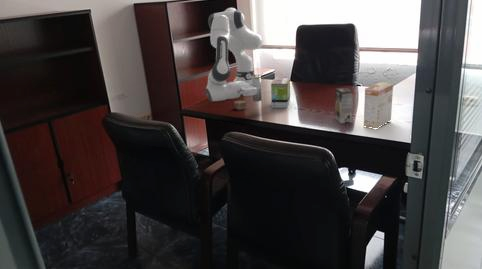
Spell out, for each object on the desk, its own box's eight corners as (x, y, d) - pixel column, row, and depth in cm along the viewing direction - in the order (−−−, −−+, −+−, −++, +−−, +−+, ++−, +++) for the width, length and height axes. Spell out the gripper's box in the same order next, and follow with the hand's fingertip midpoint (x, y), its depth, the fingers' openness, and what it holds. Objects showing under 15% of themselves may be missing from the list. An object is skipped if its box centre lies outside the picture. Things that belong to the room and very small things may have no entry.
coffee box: (334, 118, 211) (335, 88, 206) (346, 117, 212) (347, 87, 206) (340, 123, 203) (340, 92, 197) (352, 122, 203) (353, 91, 197)
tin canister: (251, 99, 230) (249, 75, 225) (259, 98, 232) (258, 74, 227) (254, 102, 226) (253, 77, 221) (263, 100, 227) (262, 76, 222)
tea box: (288, 108, 234) (287, 83, 229) (271, 108, 236) (270, 83, 231) (290, 101, 247) (290, 77, 242) (274, 101, 250) (273, 77, 244)
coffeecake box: (378, 119, 205) (380, 81, 198) (391, 121, 200) (394, 83, 193) (362, 127, 196) (364, 88, 189) (376, 130, 191) (378, 90, 184)
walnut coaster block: (234, 108, 240) (234, 102, 239) (241, 106, 243) (240, 100, 241) (239, 110, 236) (239, 103, 235) (246, 108, 239) (245, 101, 237)
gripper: (241, 88, 212) (265, 84, 216) (228, 80, 229) (250, 77, 234) (242, 99, 214) (265, 95, 218) (229, 91, 232) (251, 87, 236)
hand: (257, 86), depth 226 cm, fingers closed on tin canister, 5 cm apart
